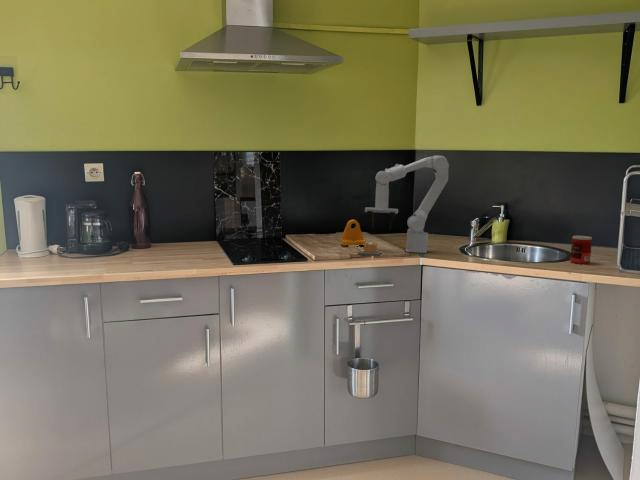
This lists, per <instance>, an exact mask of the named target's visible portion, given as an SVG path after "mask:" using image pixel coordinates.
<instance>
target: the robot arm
mask: <svg viewBox="0 0 640 480" xmlns="http://www.w3.org/2000/svg"><path fill="white" fill-rule="evenodd" d="M447 159H448V158H446V157H445V156H443V155H437V154H436V155H432V156H428V157H425V158H422V159H418V160H417V161H413V162H412V163H409V164H406V165H404V164H399V163H396V164H394V166H392V167H390V168H385V169H384V170H380V171H378V172H377V173H376V175H375V177H374V178H375V182H376V185H375V186H376V187H375V200H374V201H375V202H374V204H375V205H374V207H370V206H369V207H365V208H364V213H367V214H366V215H367V217H368V219H369V223H370V228H371V229H372V230H373V229H374V228H375V227H374V218H375V213H385V214H388V230H391V228H392V224H393V221H394V218H395V217H396V215H398V213H399V209H398V208H392V207H391V208H390V207H389V198H390V197H389V195H390V192H389V191H390V189H389V187H390V186H389V183H390V182H394V181H397V180H400V179H403V178H405V177H406V175H407V173H409V172H415V171H417V170H419V169H422V168H427V169H428V168H430V169H431V170H432V171H433V173H434V175H435V180H434V181H433V183H432V185H431V186H430V188H429V189H428V191H427V193H426V195H425V196H424V198H423V199H422V200H421V203H420V205H419V207H418V209H417V210H416V211H414V213H413V214H412V215H411V216H409V217H408V219H407V222H406V223H407V225H406V226H408V229H407V232H406V249H405V250H404V252H405V251H406V252H405V253H418V254H427V252H428V250H429V232H425V230H424V229H425V225H426V224H425V223H426V221H427V218H428V215H429V213H430V211H431V210H432V208H433V207H434V205H435V203H436V202H437V199H438V198H439V197H440V194H442V191H443V189H444V188H445V187H446V184H447V183H448V182H449V167H450V164H449V162H448V160H447Z"/></svg>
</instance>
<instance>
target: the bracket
mask: <svg viewBox="0 0 640 480" xmlns="http://www.w3.org/2000/svg"><path fill="white" fill-rule="evenodd" d="M352 224H355V227H353V228H352ZM341 243H342V244H341ZM364 243H367V242H366V240H365V238H364V235H363V233H362V230H361V226H360V223H359V222H358V221H357V220H356V219H350V220H348V221H347V223H346V225H345V228H344V231H343V233H342V235H341V238H340V244H341V245H342V246H347V245H363V244H364Z"/></svg>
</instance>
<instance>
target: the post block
mask: <svg viewBox="0 0 640 480" xmlns="http://www.w3.org/2000/svg"><path fill="white" fill-rule="evenodd" d="M367 243H368V244H373V243H374V242H372V241H369V242H367ZM381 251H382V250H381ZM381 251H376V252H374V253H368V252H364V251H361V250H359V251H358V253H357V255H358V256H368V257H370V256H371V257H380V256H381V254H380V252H381Z"/></svg>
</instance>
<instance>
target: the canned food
mask: <svg viewBox="0 0 640 480" xmlns="http://www.w3.org/2000/svg"><path fill="white" fill-rule="evenodd" d="M592 244H593V237H592V236H587V235H573V236H572V237H571V248H570V257H569V258H570V259H569V260H570V263H572V264H574V265H582V264H586V265H589V264H590V263H591V254H592Z"/></svg>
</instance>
